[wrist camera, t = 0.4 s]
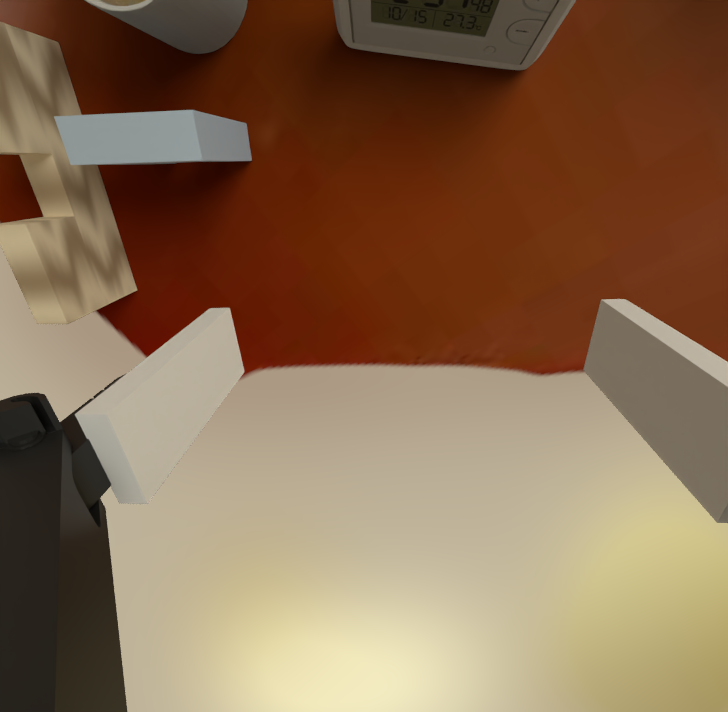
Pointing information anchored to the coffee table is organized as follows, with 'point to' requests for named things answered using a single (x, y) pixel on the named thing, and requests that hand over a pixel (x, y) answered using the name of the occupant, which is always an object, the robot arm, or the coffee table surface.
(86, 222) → the maple rail
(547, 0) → the digital clock
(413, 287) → the coffee table surface
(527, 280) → the coffee table surface
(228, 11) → the coffee mug
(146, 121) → the bridge plate
